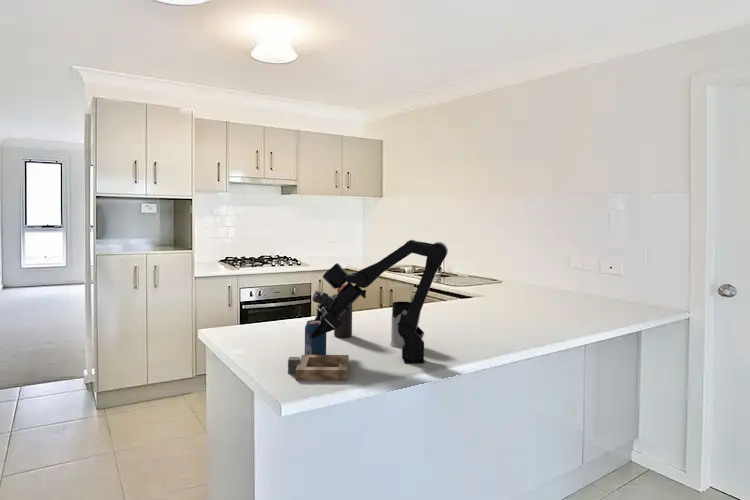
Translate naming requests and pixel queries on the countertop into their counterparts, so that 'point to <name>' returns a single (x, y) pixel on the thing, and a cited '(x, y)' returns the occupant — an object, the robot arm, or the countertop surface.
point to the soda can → (314, 340)
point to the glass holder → (396, 314)
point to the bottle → (344, 322)
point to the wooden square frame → (319, 367)
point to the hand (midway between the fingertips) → (310, 333)
